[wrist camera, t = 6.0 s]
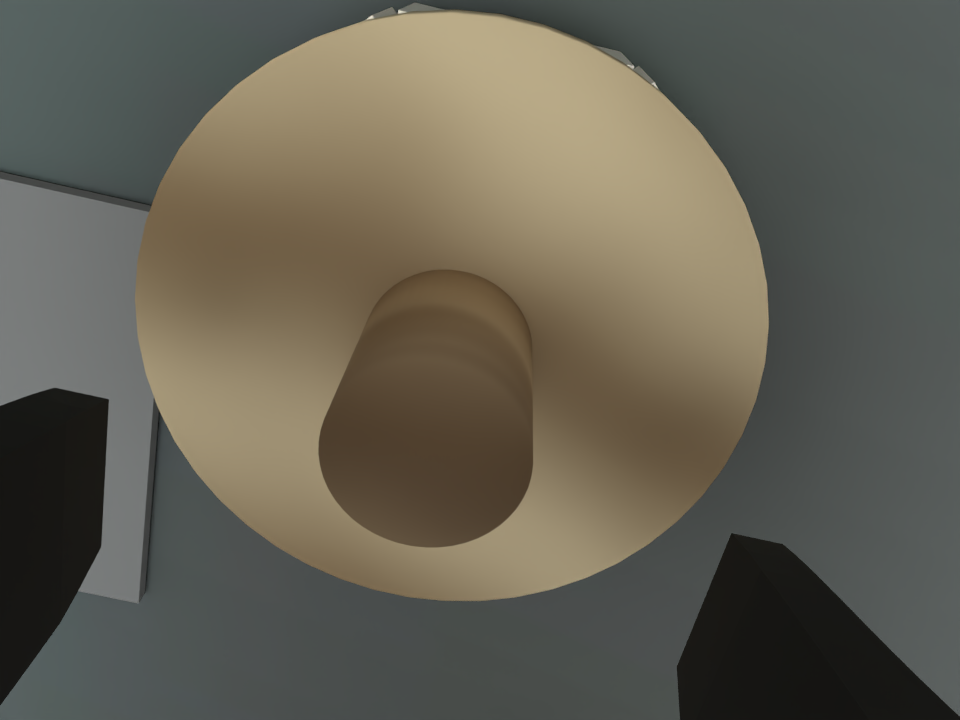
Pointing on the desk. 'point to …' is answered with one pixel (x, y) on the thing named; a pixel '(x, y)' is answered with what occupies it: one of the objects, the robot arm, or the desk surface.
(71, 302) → the mat
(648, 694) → the desk surface
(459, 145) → the lid
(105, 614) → the desk surface
